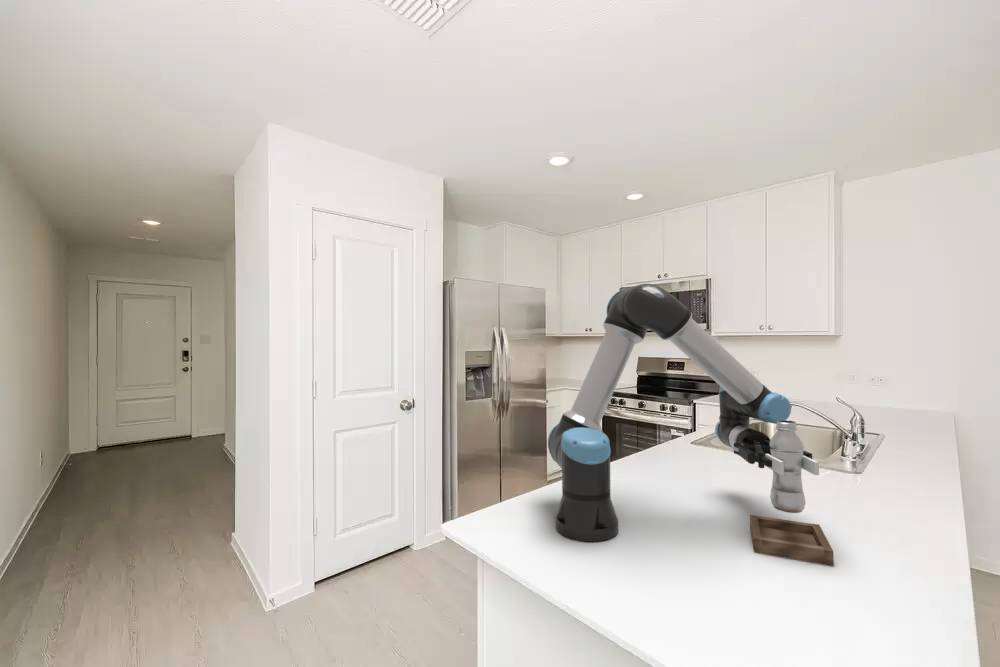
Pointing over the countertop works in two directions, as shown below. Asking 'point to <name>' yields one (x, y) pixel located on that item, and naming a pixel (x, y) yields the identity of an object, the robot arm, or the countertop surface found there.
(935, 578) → the countertop surface
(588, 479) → the robot arm
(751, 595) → the countertop surface
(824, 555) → the wooden tray
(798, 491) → the plastic bottle
